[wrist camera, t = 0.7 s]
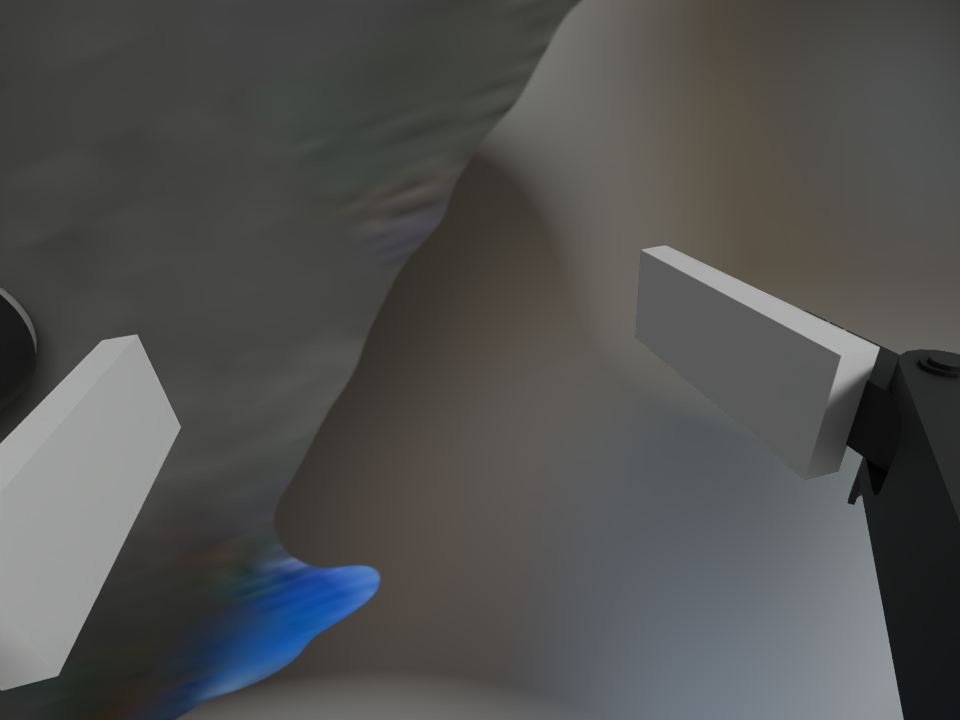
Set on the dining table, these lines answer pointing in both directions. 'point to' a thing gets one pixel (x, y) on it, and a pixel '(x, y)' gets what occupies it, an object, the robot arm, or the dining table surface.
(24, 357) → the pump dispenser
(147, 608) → the dining table surface
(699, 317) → the robot arm
